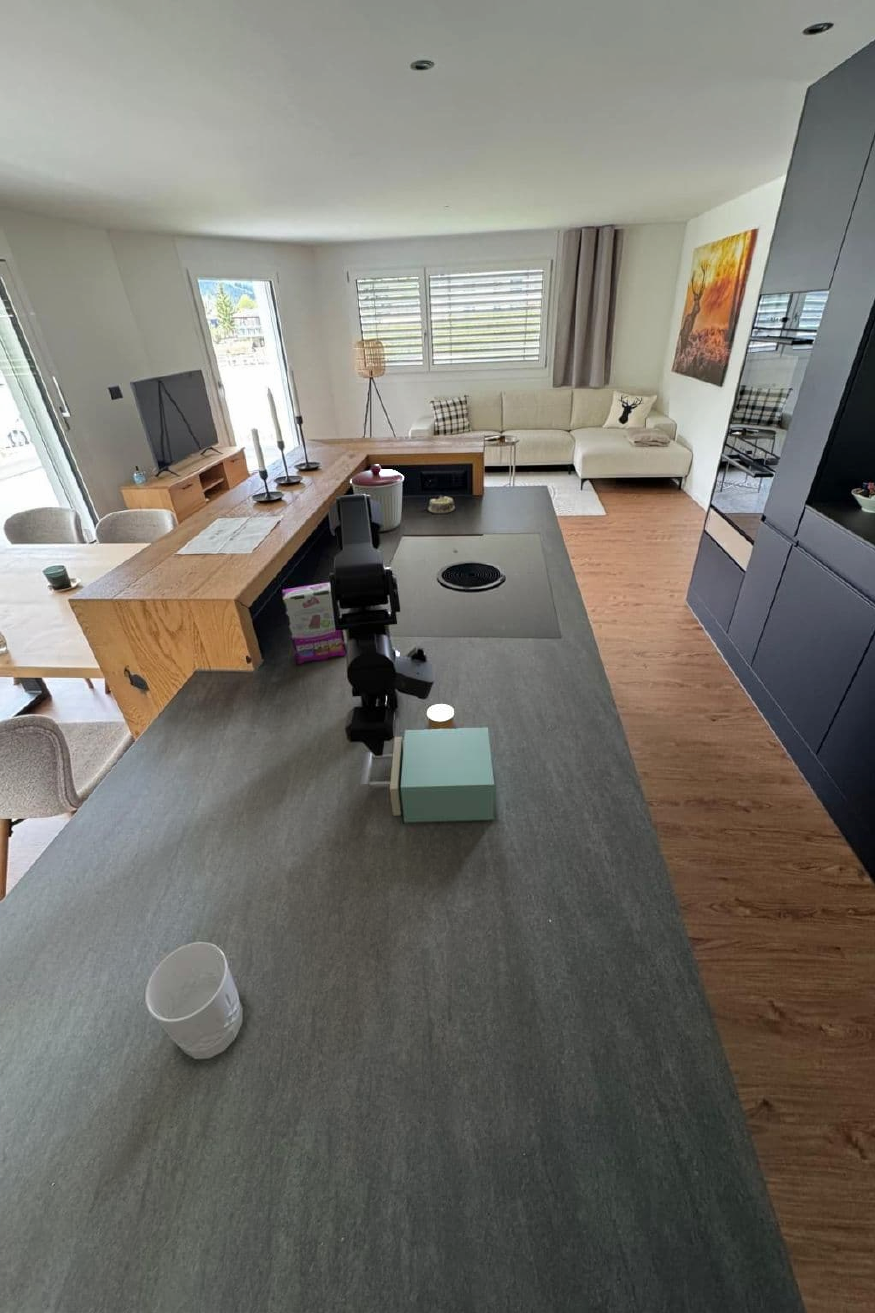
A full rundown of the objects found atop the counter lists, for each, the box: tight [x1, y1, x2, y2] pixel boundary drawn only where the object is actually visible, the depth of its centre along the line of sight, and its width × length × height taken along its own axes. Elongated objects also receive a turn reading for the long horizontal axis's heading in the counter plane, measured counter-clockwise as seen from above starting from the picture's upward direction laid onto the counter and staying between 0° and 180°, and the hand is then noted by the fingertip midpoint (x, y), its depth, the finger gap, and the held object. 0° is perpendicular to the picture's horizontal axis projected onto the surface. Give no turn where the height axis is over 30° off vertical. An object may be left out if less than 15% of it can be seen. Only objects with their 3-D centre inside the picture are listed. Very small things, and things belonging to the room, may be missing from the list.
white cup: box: [144, 941, 244, 1060], centre depth 59 cm, size 8×8×10 cm
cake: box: [427, 494, 456, 514], centre depth 204 cm, size 10×10×5 cm
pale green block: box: [401, 727, 495, 823], centre depth 88 cm, size 14×13×8 cm
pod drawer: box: [359, 736, 404, 816], centre depth 88 cm, size 17×11×6 cm, turn 90°
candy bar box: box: [282, 581, 347, 665], centre depth 121 cm, size 11×5×16 cm, turn 105°
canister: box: [349, 463, 405, 532], centre depth 187 cm, size 18×18×21 cm
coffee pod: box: [426, 703, 455, 730], centre depth 101 cm, size 5×5×4 cm
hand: (381, 736), depth 83 cm, fingers open, 8 cm apart
